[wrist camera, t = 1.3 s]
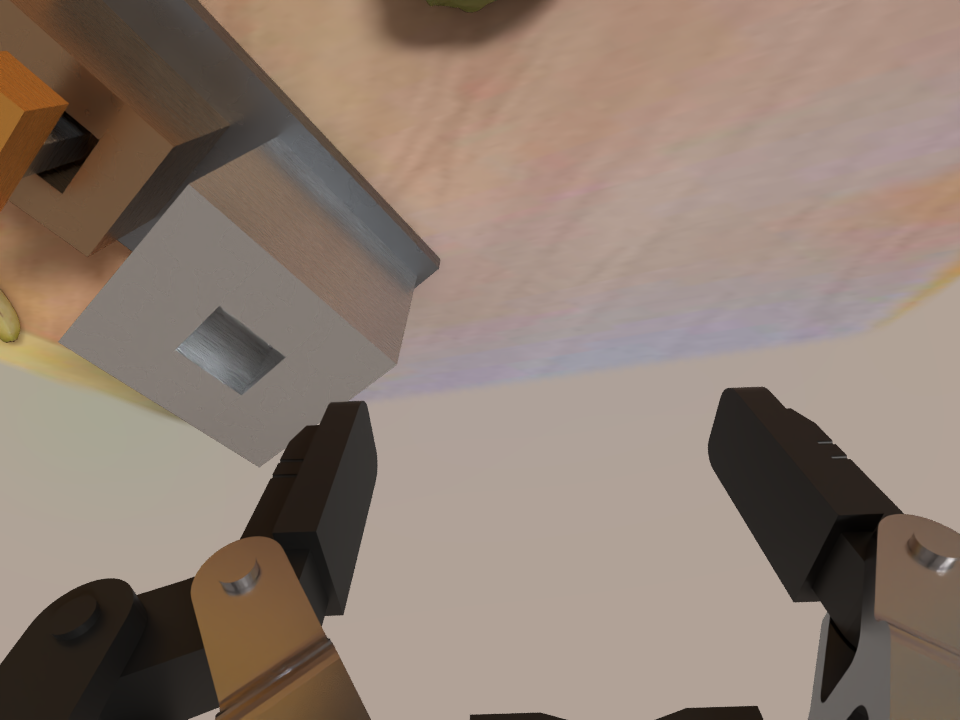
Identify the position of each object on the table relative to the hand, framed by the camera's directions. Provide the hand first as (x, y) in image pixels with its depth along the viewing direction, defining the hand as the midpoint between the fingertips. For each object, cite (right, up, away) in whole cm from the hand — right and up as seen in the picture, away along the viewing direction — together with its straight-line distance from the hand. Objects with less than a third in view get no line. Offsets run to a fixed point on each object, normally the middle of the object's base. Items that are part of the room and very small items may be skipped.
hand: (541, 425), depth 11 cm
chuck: (-16, +12, +19) cm, 27 cm away
